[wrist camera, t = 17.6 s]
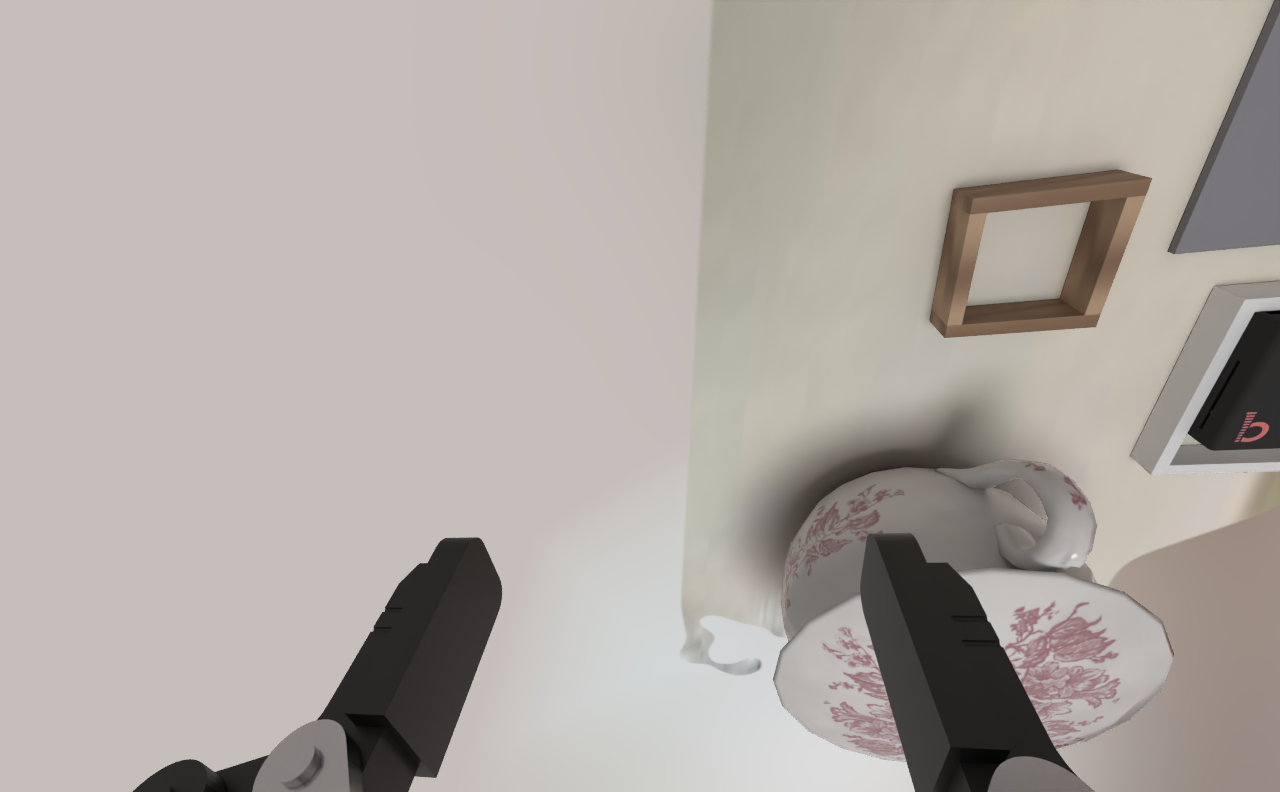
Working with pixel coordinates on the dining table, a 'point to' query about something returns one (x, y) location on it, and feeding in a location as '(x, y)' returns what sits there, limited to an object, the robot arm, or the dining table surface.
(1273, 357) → the electronic device
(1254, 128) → the charcoal mat
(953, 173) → the dining table surface
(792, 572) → the chamber pot
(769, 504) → the dining table surface
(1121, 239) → the walnut collar
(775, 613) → the dining table surface
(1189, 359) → the grey organizer frame
